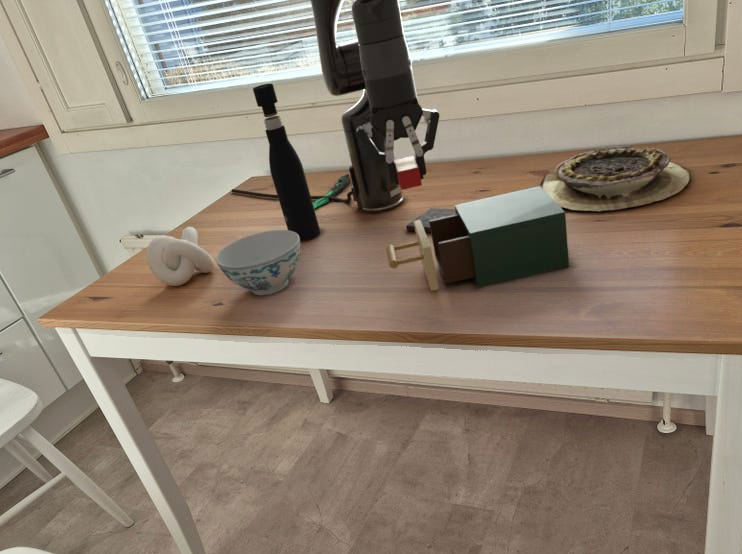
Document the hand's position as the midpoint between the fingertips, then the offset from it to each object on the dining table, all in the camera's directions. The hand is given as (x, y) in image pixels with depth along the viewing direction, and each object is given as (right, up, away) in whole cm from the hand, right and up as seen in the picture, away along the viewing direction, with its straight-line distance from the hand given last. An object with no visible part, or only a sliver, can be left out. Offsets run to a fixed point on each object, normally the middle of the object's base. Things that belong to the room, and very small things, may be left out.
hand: (408, 180), depth 112 cm
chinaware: (-25, -17, +10) cm, 32 cm away
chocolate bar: (+10, -4, +18) cm, 21 cm away
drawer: (+7, -15, -1) cm, 16 cm away
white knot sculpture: (-43, -13, +23) cm, 51 cm away
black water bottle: (-21, -4, +30) cm, 37 cm away
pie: (+40, +4, +19) cm, 44 cm away
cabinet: (+17, -13, 0) cm, 22 cm away
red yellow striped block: (0, 0, 0) cm, 0 cm away
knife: (-18, +10, +51) cm, 55 cm away
